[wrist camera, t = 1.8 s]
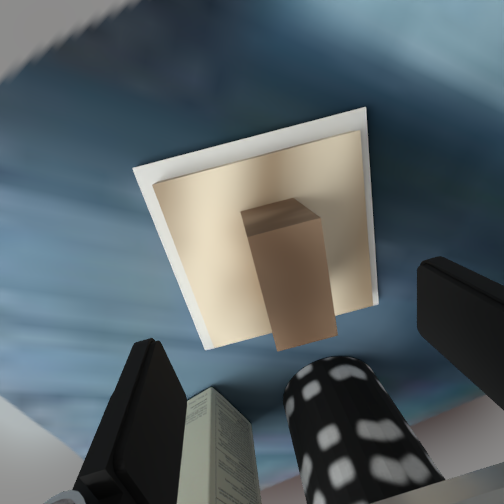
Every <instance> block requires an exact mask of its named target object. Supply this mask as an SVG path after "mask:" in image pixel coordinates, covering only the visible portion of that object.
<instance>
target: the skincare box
mask: <svg viewBox="0 0 504 504" xmlns="http://www.w3.org/2000/svg"><path fill="white" fill-rule="evenodd" d="M177 504H262V503H261V496H260V488H259V480H258V472H257V465H256V457H255V450H254V442H253V434H252V426H251V423H250V422H249V421H248V420H247V419H246V418H245V417H244V416H243V415H242V414H241V413H240V412H239V411H238V410H237V409H236V408H234V407H233V406H232V405H231V404H230V403H229V402H228V401H227V400H226V399H225V398H224V397H223V396H222V395H221V394H219V393H218V392H217V391H216V390H215V389H214V388H212V387H210V388H208V389H207V390H205V391H203V392H202V393H200V394H198V395H196V396H195V397H193V398H191V399H190V400H188V401H187V412H186V421H185V431H184V440H183V450H182V459H181V469H180V479H179V488H178V498H177Z"/></svg>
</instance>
